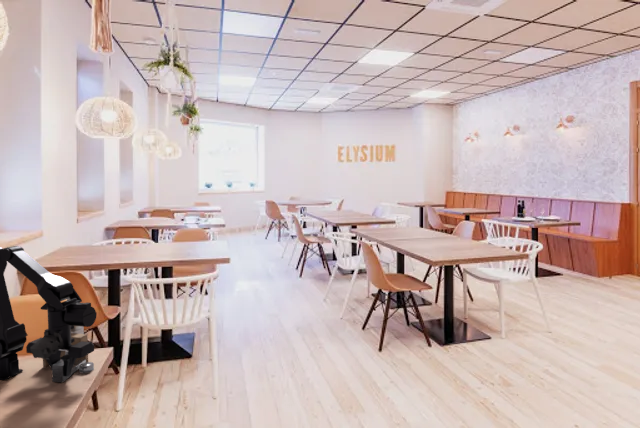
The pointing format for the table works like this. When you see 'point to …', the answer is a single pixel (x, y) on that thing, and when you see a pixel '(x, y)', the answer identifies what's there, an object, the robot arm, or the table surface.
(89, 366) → the steel token
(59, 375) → the grey mallet
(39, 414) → the table surface
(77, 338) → the plinth cabinet
